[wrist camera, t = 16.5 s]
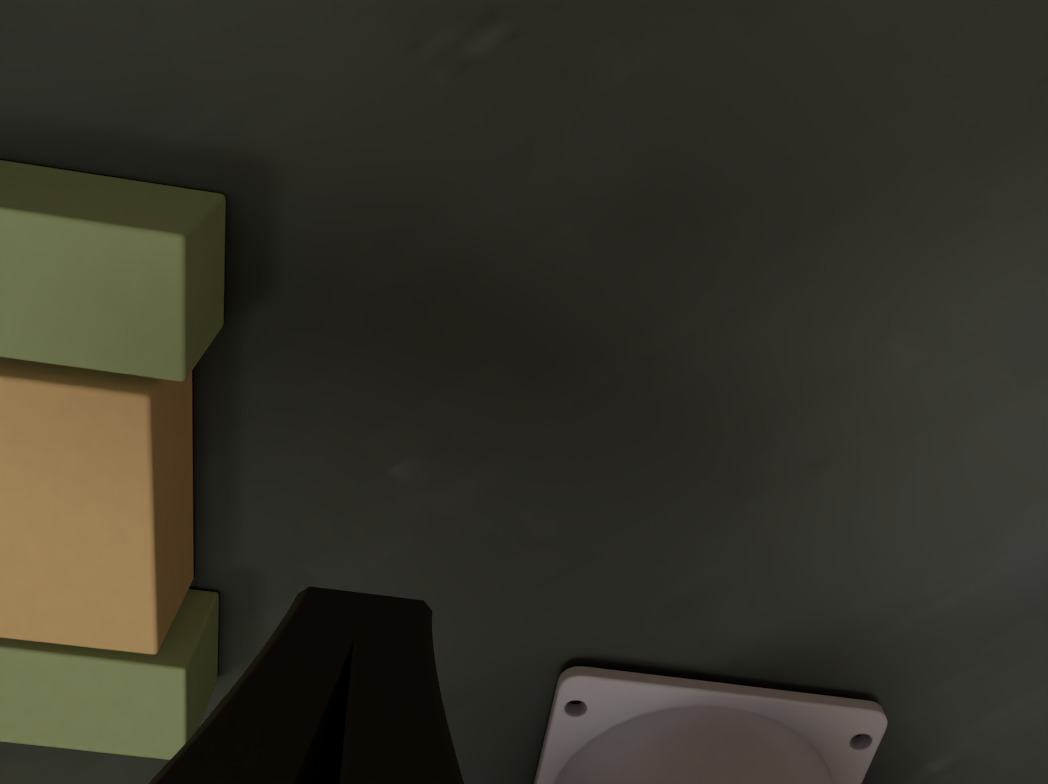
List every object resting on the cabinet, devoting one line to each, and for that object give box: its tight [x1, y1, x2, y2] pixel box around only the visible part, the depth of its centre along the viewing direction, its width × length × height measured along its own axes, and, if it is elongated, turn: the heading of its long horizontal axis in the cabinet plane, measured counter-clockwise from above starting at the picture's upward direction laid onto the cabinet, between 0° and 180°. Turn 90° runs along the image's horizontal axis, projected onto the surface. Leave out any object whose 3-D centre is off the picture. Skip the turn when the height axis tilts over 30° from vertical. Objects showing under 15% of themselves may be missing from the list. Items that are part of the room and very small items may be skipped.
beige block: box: [0, 357, 194, 655], centre depth 19 cm, size 6×5×2 cm
